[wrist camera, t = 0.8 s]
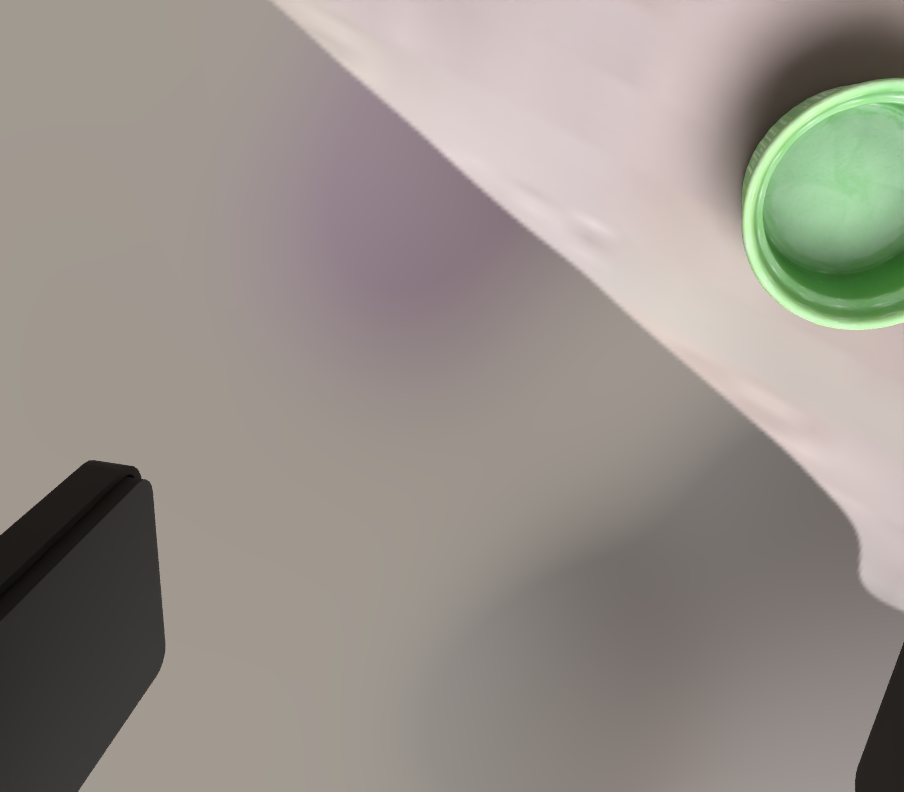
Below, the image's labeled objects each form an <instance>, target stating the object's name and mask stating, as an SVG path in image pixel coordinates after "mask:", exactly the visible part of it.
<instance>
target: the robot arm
mask: <svg viewBox="0 0 904 792" xmlns="http://www.w3.org/2000/svg"><path fill="white" fill-rule="evenodd" d="M159 574H160V573H159V561H158V549H157V538H156V526H155V513H154V501H153V491H152V486H151V484H150V482H149V481H147V480H145V479H141V475H140V473H139V471H138V469H137V468H135V467H134V466H128V465H122V464H115V463H109V462H102V461H95V460H92V461H88V462H86V463H84V464H83V465H82V466H80V467H79V468H78V469H77V470H76V471H75V472H73V473H72V474H71V475H70V476H69V477H68V478H66V479H65V480H64V481H63V482H62V483H61V484H59V485H58V486H57V487H56V488H55V489H54V490H53V491H51V492H50V493H49V494H48V495H47V496H46V497H44V498H43V499H42V500H41V501H40V502H39V503H38V504H36V505H35V506H34V507H33V508H32V509H30V510H29V511H28V512H27V513H26V514H25V515H23V516H22V517H21V518H20V519H19V520H18V521H17V522H15V523H14V524H13V525H12V526H11V527H10V528H8V529H7V530H6V531H5V532H4V533H3V534H2V535H0V792H78V791H79V789H80V788H81V786H82V785H83V783H84V782H85V780H86V779H87V777H88V776H89V774H90V773H91V771H92V770H93V768H94V767H95V765H96V764H97V762H98V761H99V760H100V758H101V757H102V755H103V754H104V752H105V751H106V749H107V748H108V746H109V745H110V744H111V742H112V741H113V739H114V738H115V736H116V735H117V733H118V732H119V730H120V729H121V727H122V726H123V724H124V723H125V722H126V720H127V719H128V717H129V716H130V714H131V713H132V711H133V710H134V708H135V707H136V705H137V704H138V702H139V701H140V699H141V698H142V697H143V695H144V694H145V692H146V691H147V689H148V688H149V686H150V685H151V683H152V682H153V680H154V679H155V677H156V676H157V674H158V672H159V671H160V668H161V665H162V663H163V658H164V654H165V634H164V622H163V610H162V598H161V586H160V575H159ZM855 792H904V643H903V646H902V649H901V651H900V654H899V657H898V660H897V662H896V665H895V668H894V670H893V673H892V676H891V678H890V681H889V684H888V687H887V690H886V692H885V695H884V697H883V700H882V703H881V705H880V708H879V711H878V714H877V716H876V719H875V722H874V724H873V727H872V730H871V732H870V735H869V738H868V741H867V743H866V746H865V749H864V751H863V754H862V757H861V760H860V763H859V765H858V768H857V772H856V779H855Z"/></svg>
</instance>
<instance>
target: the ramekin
mask: <svg viewBox="0 0 904 792" xmlns="http://www.w3.org/2000/svg"><path fill="white" fill-rule="evenodd" d="M741 200H742V237H743V243H744V248H745V252H746V255H747V258H748V261H749V263H750V265H751V268H752V270H753V272H754V274H755V275H756V277H757V279H758V280H759V282H760V283H761V285H762V286H763V287H764V288H765V290H766V291H767V292H768V293H769V294H770V295H771V296H772V297H773V298H774V299H775V300H776V301H777V302H778V303H779V304H781V305H782V306H783V307H785V308H786V309H787V310H789V311H790V312H792V313H794V314H795V315H797V316H799V317H801V318H804V319H806V320H808V321H810V322H813V323H816V324H819V325H822V326H827V327H831V328H836V329H847V330H866V329H876V328H882V327H888V326H892V325H896V324H899V323H903V322H904V78H886V79H878V80H871V81H867V82H863V83H858V84H852V85H847V86H841V87H836V88H833V89H830V90H826V91H823V92H820V93H818V94H816V95H814V96H812V97H810V98H808V99H806V100H804V101H803V102H801V103H800V104H798V105H796V106H795V107H793V108H792V109H791V110H790V111H788V112H787V113H786V114H784V115H783V116H782V117H781V118H780V119H779V120H778V121H777V122H776V123H775V124H774V125H773V126H772V127H771V128H770V129H769V130H768V132H767V133H766V135H765V136H764V138H763V139H762V140H761V141H760V142H759V144H758V146H757V147H756V149H755V151H754V153H753V154H752V157H751V159H750V162H749V164H748V166H747V169H746V173H745V177H744V181H743V186H742V196H741Z"/></svg>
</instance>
